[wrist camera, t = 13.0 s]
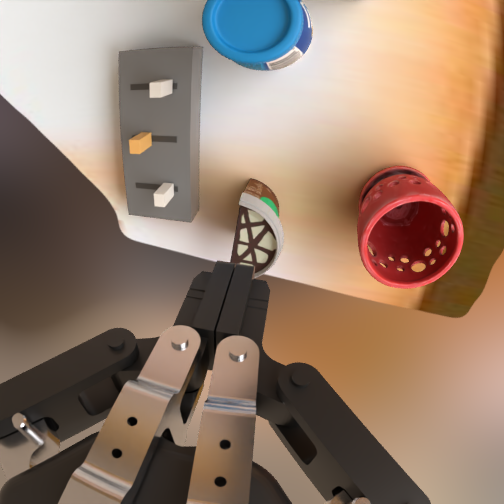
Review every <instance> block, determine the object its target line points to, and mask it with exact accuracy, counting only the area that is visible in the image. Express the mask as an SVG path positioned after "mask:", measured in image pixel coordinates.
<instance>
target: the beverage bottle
mask: <svg viewBox="0 0 504 504" xmlns="http://www.w3.org/2000/svg"><path fill="white" fill-rule="evenodd" d="M202 25H203V30H204V33H205V36H206V38H207V40H208V41H209V43H210V44H211V45H212V47H213V48H214V49H215V50H216V51H218V53H220V54H221V55H223V56H225V57H226V58H228V59H231V60H233V61H234V62H236V63H237V64H239V65H241V66H243V67H246V68H249V69H254V70H277V69H281V68H284V67H287V66H289V65H291V64H293V63H294V62H296V61H297V60H298V59H300V58H301V57H302V56H303V55H304V53H305V52H306V51H307V49H308V47H309V45H310V43H311V39H312V34H313V26H312V20H311V16H310V14H309V11H308V9H307V7H306V6H305V4H304V3H303V2H302V1H301V0H207V2H206V4H205V7H204V10H203V15H202Z"/></svg>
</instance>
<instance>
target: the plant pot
mask: <svg viewBox="0 0 504 504" xmlns="http://www.w3.org/2000/svg"><path fill="white" fill-rule="evenodd" d="M445 221H447V222H448V224H449V232H448V235H447V236H445V235H444V232H443V230H444V223H445ZM357 234H358V247H359V252H360V257H361V260H362V262H363V265H364V266H365V268H366V270H367V271H368V272H369V273H370V275H371V276H372V277H374V278H375V279H376V280H377V281H379V282H381V283H382V284H385V285H387V286H390V287H395V288H405V289H406V288H416V287H421V286H424V285H426V284H429V283H431V282H433V281H435V280H437V279H438V278H440V277H441V276H442V275H444V274H445V273H446V272H447V271H448V270H449V269H450V268H451V267H452V265H453V264H454V263H455V261H456V260H457V258H458V256H459V254H460V252H461V249H462V244H463V226H462V222H461V219H460V217H459V215H458V213H457V211H456V209H455V208H454V206H453V205H452V204H451V202H450V201H449V200H448V199H447V197H446V196H445V195H444V194H443V193H442V192H441V191H440V190H439V189H438V188H437V187H436V186H434V185H433V184H432V183H431V182H430V180H429V179H428V178H427V177H426V176H425V175H424V174H423V173H421V172H420V171H418V170H416V169H413V168H410V167H406V166H394V167H389V168H386V169H384V170H381V171H380V172H378V173H376V174H375V175H374V176H373V177H371V178H370V179H369V181H368V182H367V183H366V184H365V186H364V188H363V190H362V192H361V195H360V198H359V217H358V224H357ZM439 241H440V242H441V244H440V246H439V247H437V244H438V242H439ZM367 244H368V245H369V246H370V248H371V249H372V251H373V254H374V256H373V255H372V254H371V253H370V252H369V249H368V246H367ZM445 247H446V253H445V254H444V255H442V251H443V249H444V248H445ZM429 249H431V250H432V252H431V254H430V255H429V256H425V252H426V251H427V250H429ZM388 257H392V258H393V259H394V261H391V260H389V258H388ZM401 258H407V259H408V260H409V262H407V263H403V262H401V261H400V259H401ZM433 260H436V261H435V263H434V264H432V265H430V263H431V262H432V261H433ZM380 263H382V264H384V265H385V266H386V268H385V267H383V266H382V265H380ZM417 263H423V264H425V265H426V268H425V269H424V270H423V271H421V272H415V271H413V270H412V269H411V267H412V266H413V265H415V264H417ZM397 268H401V269H402V270H403V271H399V270H397Z"/></svg>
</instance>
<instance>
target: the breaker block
mask: <svg viewBox="0 0 504 504" xmlns="http://www.w3.org/2000/svg"><path fill="white" fill-rule="evenodd" d="M202 54H203V47H169V48H152V49H140V50H129V51H120V52H119V105H120V126H121V142H122V155H123V167H124V177H125V186H126V195H127V204H128V212H129V215H136V216H144V217H152V218H160V219H168V220H176V221H184V222H192V220H193V219H194V217H195V216H196V214H197V212H198V211H199V139H200V100H201V74H202ZM162 79H173V85H172V94H169V95H167V96H164V97H161V98H150V82H154V81H158V80H162ZM141 132H151V139H152V146H150V147H149V148H148V149H146V150H145V151H144V152H142V153H141V154H130V146H129V140H130V139H131V138H133V137H135V136H136V135H138V134H140V133H141ZM163 183H173V184H174V196H173V197H172V199H171V200H170V201H169V202H168V204H167V205H166V206H165V207H157V206H155V205H154V193H155V192H156V191H157V189H158V188H159V187H160V186H161V185H162V184H163Z"/></svg>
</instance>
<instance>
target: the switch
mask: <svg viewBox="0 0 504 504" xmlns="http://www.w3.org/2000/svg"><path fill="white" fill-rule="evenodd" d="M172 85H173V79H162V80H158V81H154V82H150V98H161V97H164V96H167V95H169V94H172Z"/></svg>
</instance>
